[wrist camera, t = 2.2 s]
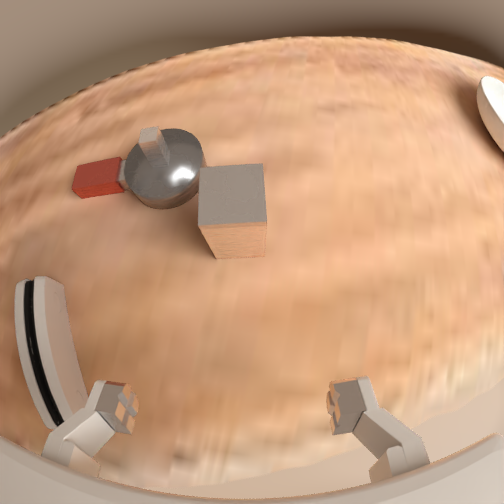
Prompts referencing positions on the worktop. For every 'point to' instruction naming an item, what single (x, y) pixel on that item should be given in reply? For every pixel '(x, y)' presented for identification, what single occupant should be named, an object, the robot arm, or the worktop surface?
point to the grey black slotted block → (48, 350)
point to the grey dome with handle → (148, 170)
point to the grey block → (233, 210)
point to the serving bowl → (492, 107)
